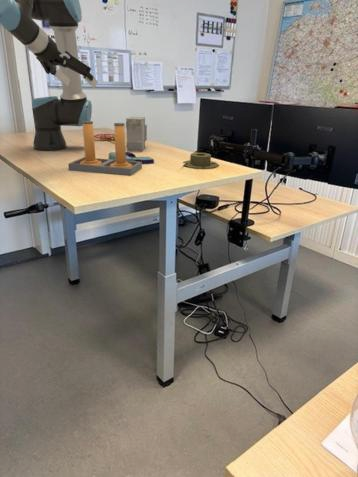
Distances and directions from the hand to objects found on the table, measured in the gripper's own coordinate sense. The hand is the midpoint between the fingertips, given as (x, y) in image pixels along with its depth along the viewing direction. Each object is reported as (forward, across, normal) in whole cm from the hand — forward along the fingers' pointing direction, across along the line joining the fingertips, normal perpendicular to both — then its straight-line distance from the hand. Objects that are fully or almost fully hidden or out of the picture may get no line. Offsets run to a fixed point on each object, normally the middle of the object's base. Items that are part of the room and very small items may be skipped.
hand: (81, 83), depth 134 cm
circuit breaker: (+48, -1, -4) cm, 48 cm away
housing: (+10, +16, -29) cm, 35 cm away
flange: (+37, +40, -12) cm, 55 cm away
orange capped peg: (+11, +22, -27) cm, 36 cm away
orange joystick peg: (+8, +10, -29) cm, 32 cm away
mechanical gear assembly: (+57, -28, +1) cm, 64 cm away
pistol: (+24, +16, -20) cm, 35 cm away
